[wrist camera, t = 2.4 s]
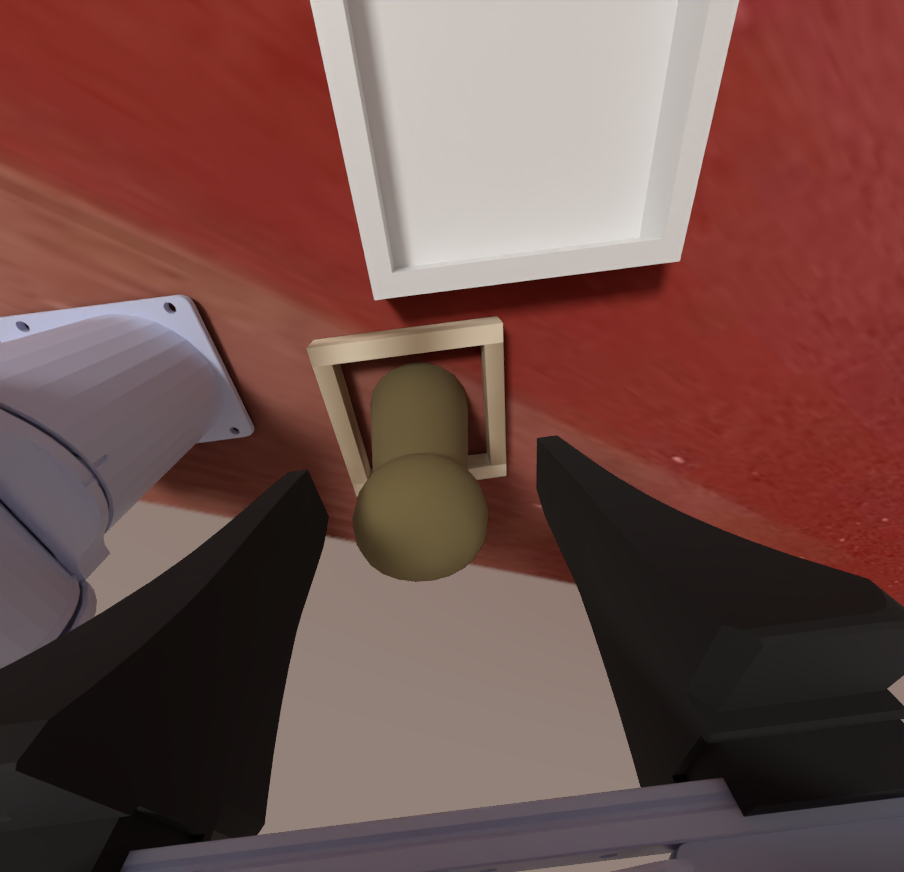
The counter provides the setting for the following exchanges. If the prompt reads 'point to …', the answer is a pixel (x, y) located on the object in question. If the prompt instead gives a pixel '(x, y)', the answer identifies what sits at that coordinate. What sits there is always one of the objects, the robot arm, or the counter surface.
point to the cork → (420, 478)
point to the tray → (520, 132)
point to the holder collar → (406, 342)
